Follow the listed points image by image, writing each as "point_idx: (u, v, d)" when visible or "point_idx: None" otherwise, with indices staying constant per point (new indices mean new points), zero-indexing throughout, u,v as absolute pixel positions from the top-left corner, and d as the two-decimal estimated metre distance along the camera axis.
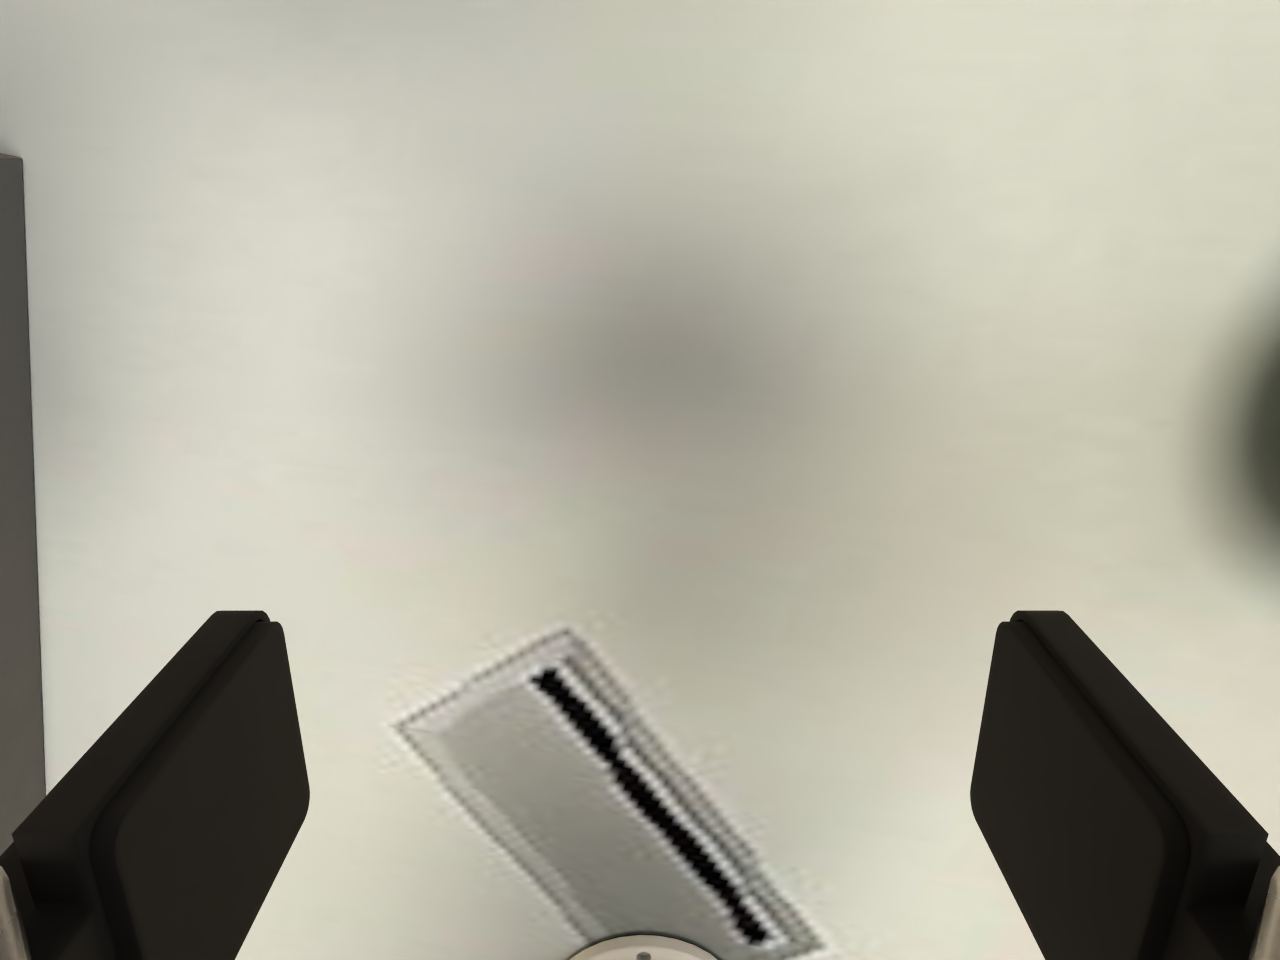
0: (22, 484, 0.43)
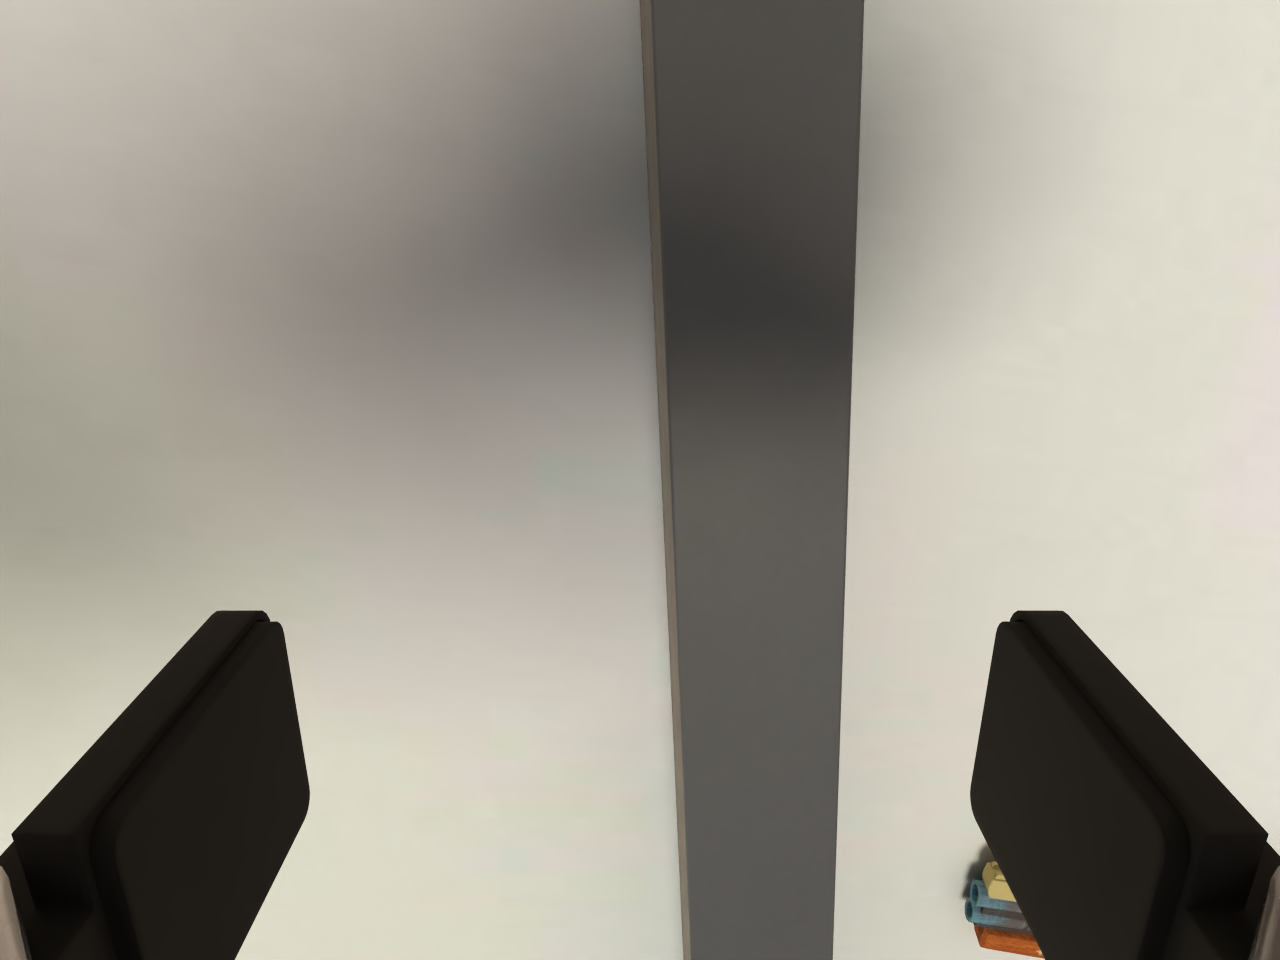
0: None
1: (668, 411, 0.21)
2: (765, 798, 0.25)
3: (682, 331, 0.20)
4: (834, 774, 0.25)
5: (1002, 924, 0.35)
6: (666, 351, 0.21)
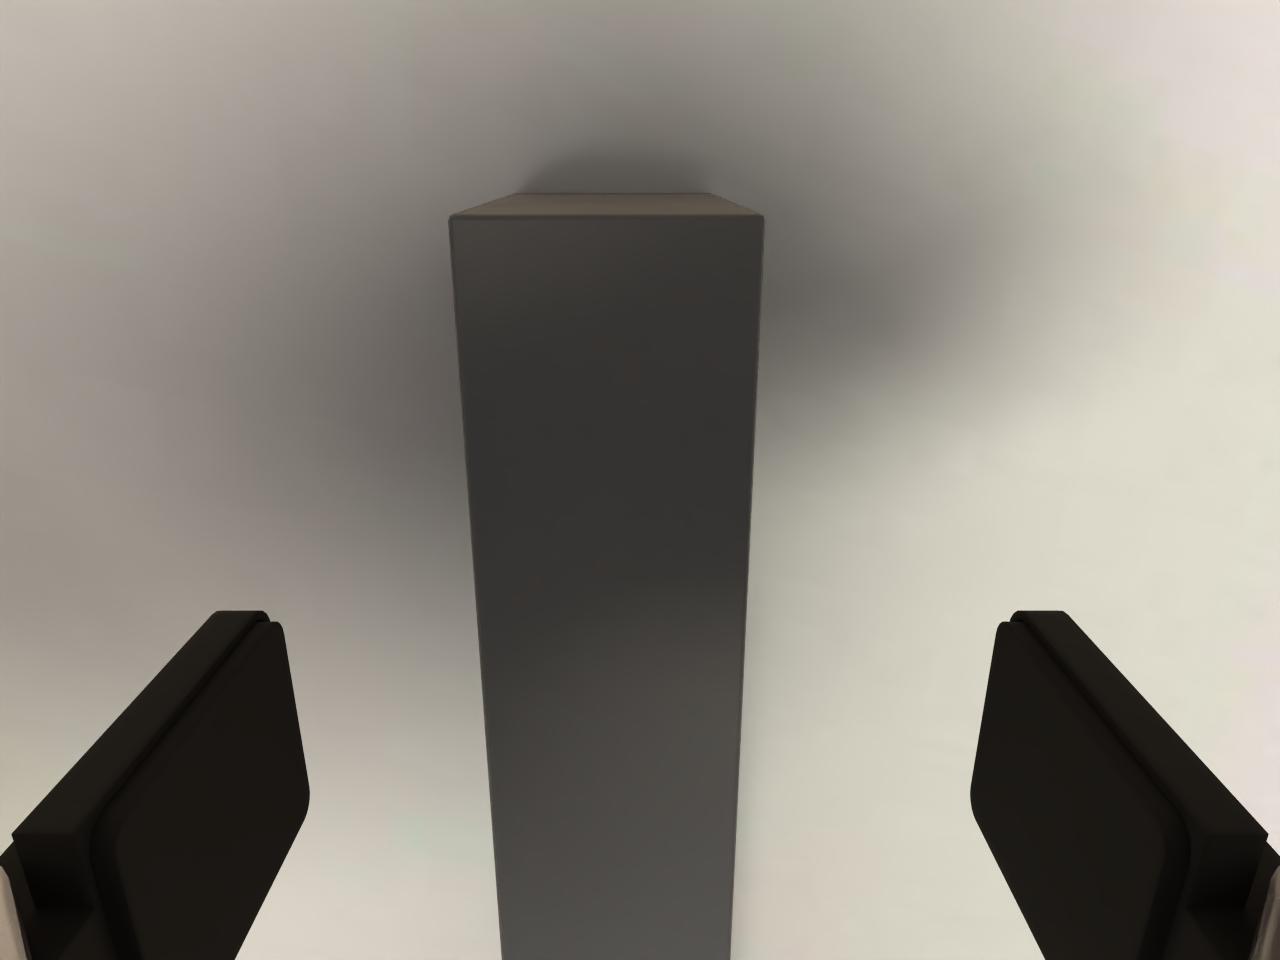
0: None
1: (501, 946, 0.17)
2: None
3: (517, 869, 0.16)
4: None
5: None
6: (497, 887, 0.16)
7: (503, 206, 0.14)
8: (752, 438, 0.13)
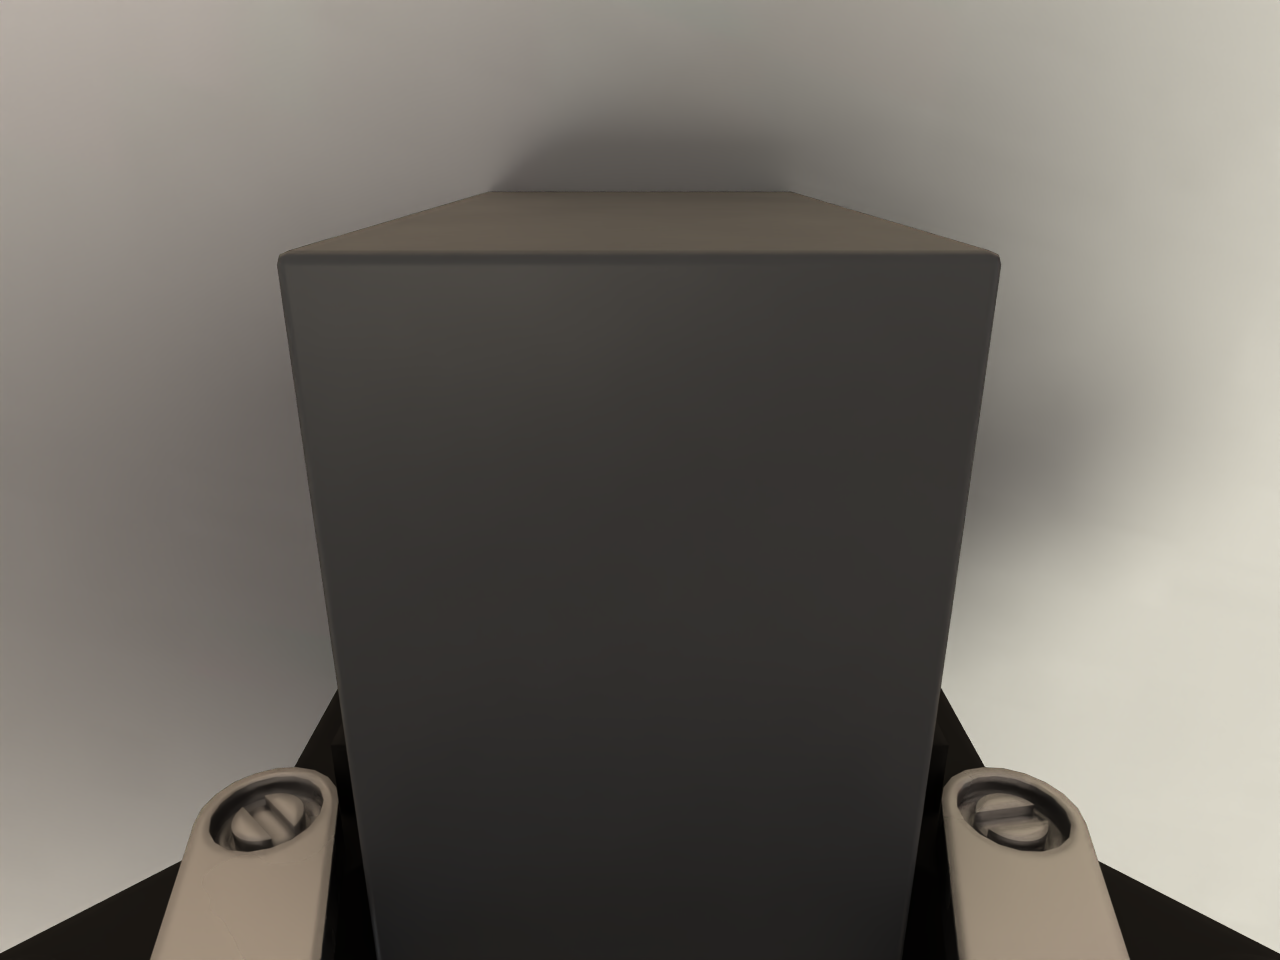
0: None
1: None
2: None
3: None
4: None
5: None
6: None
7: (433, 223, 0.07)
8: (935, 708, 0.06)
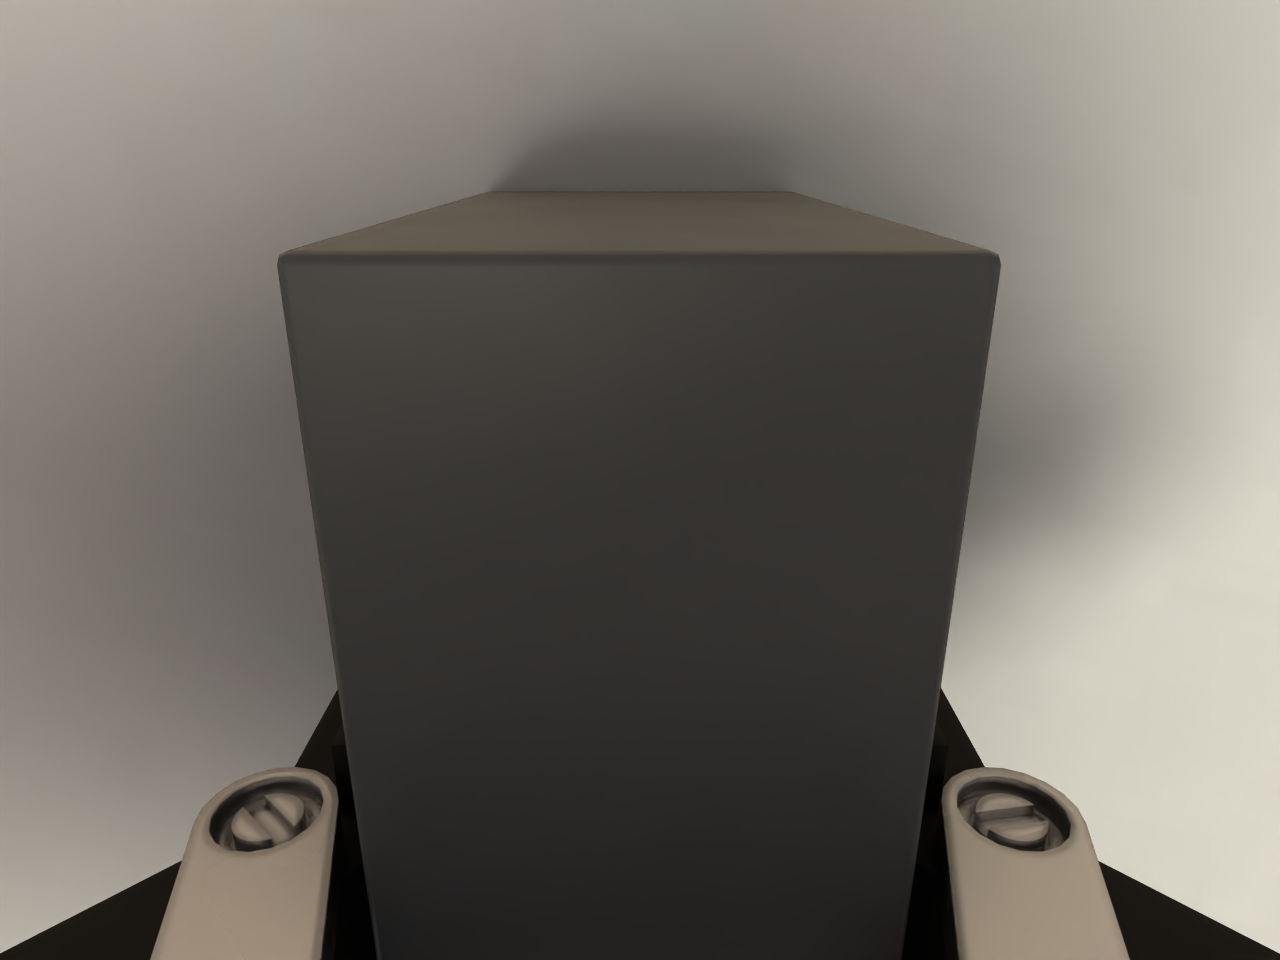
0: None
1: None
2: None
3: None
4: None
5: None
6: None
7: (434, 223, 0.07)
8: (936, 709, 0.06)
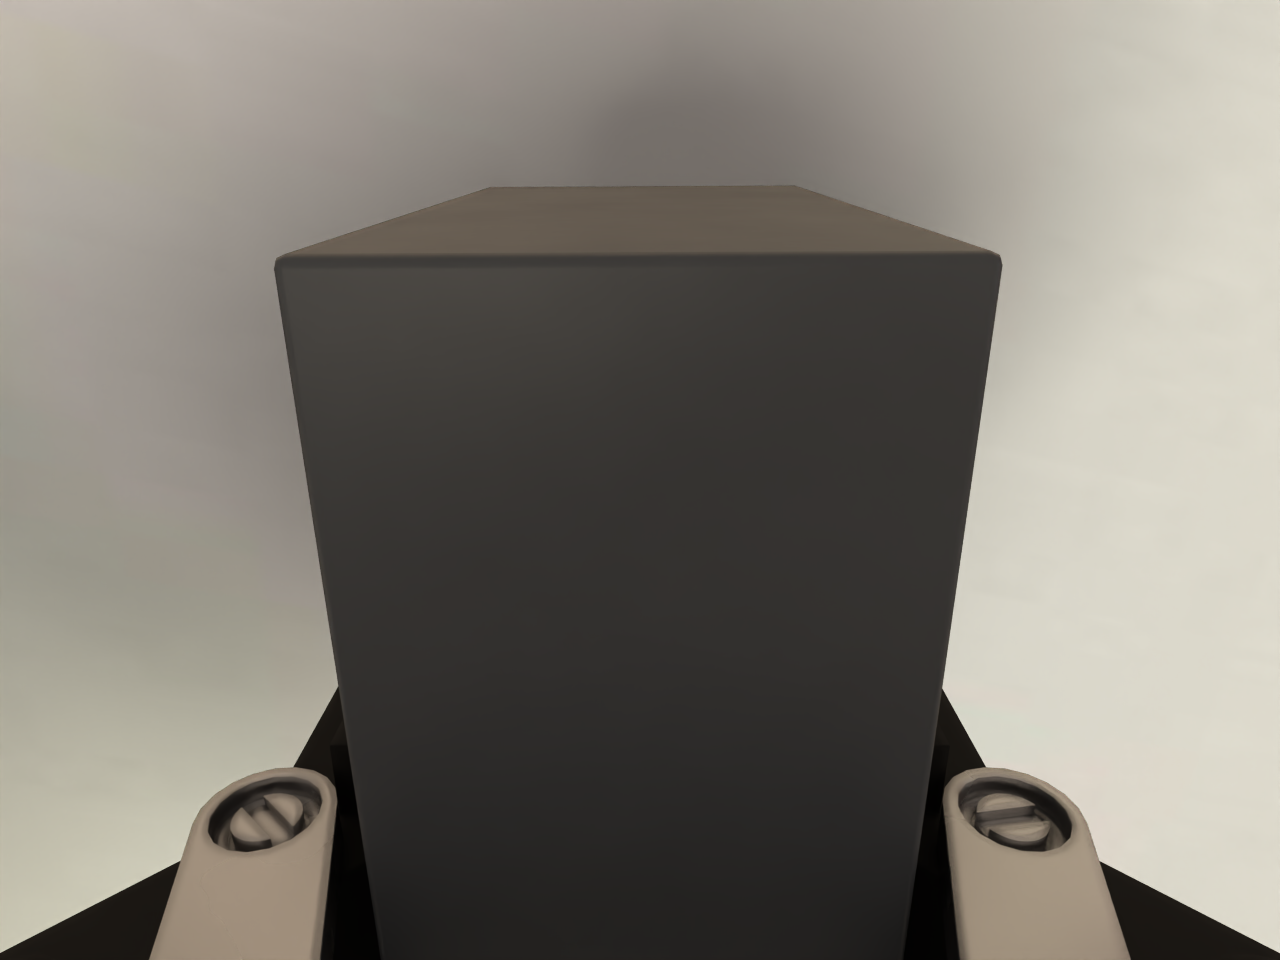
0: None
1: None
2: None
3: None
4: None
5: None
6: None
7: (433, 222, 0.07)
8: (936, 710, 0.06)
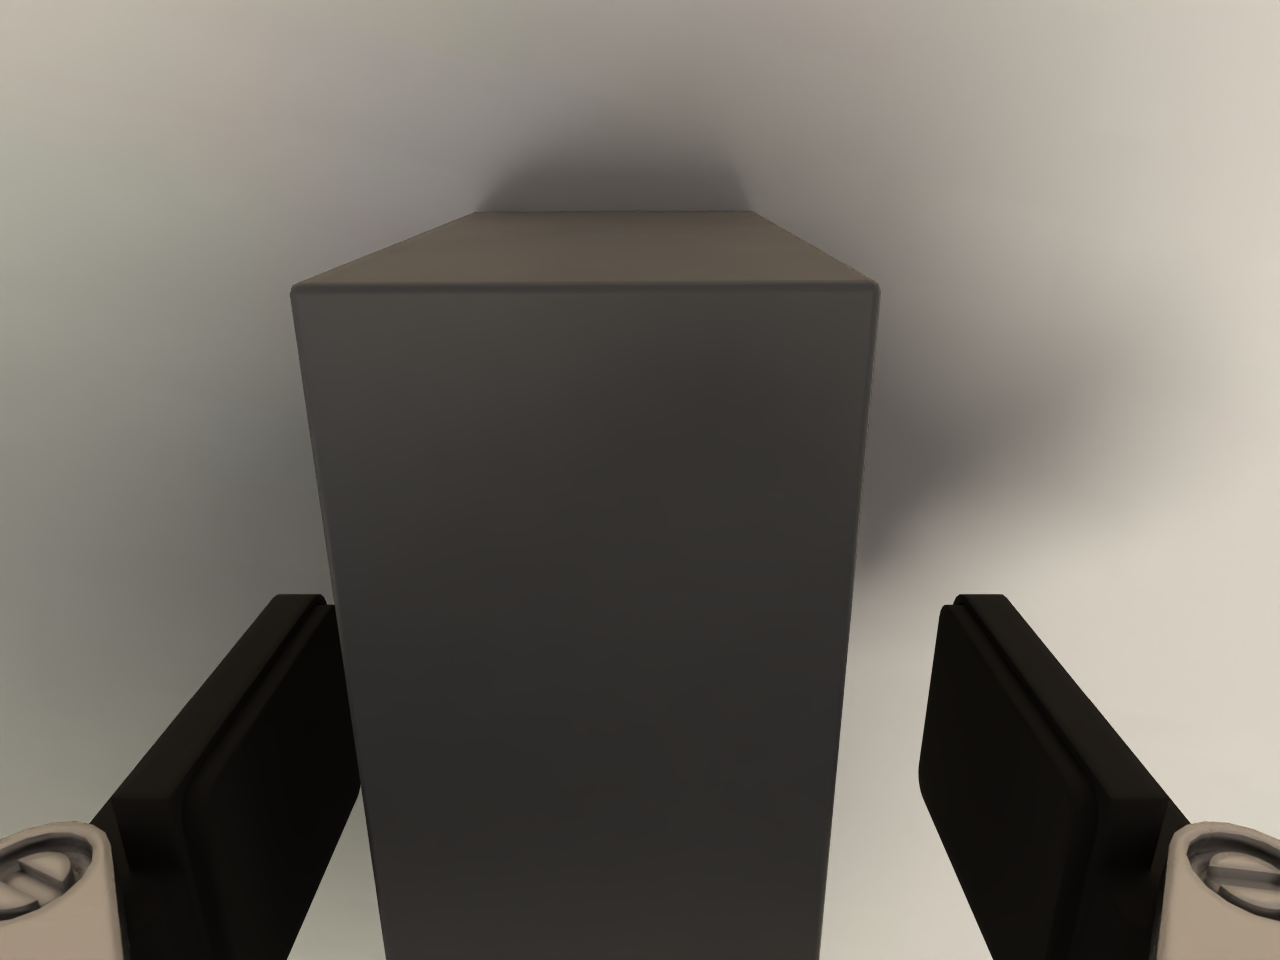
0: None
1: None
2: None
3: None
4: None
5: None
6: None
7: (421, 251, 0.09)
8: (843, 662, 0.08)
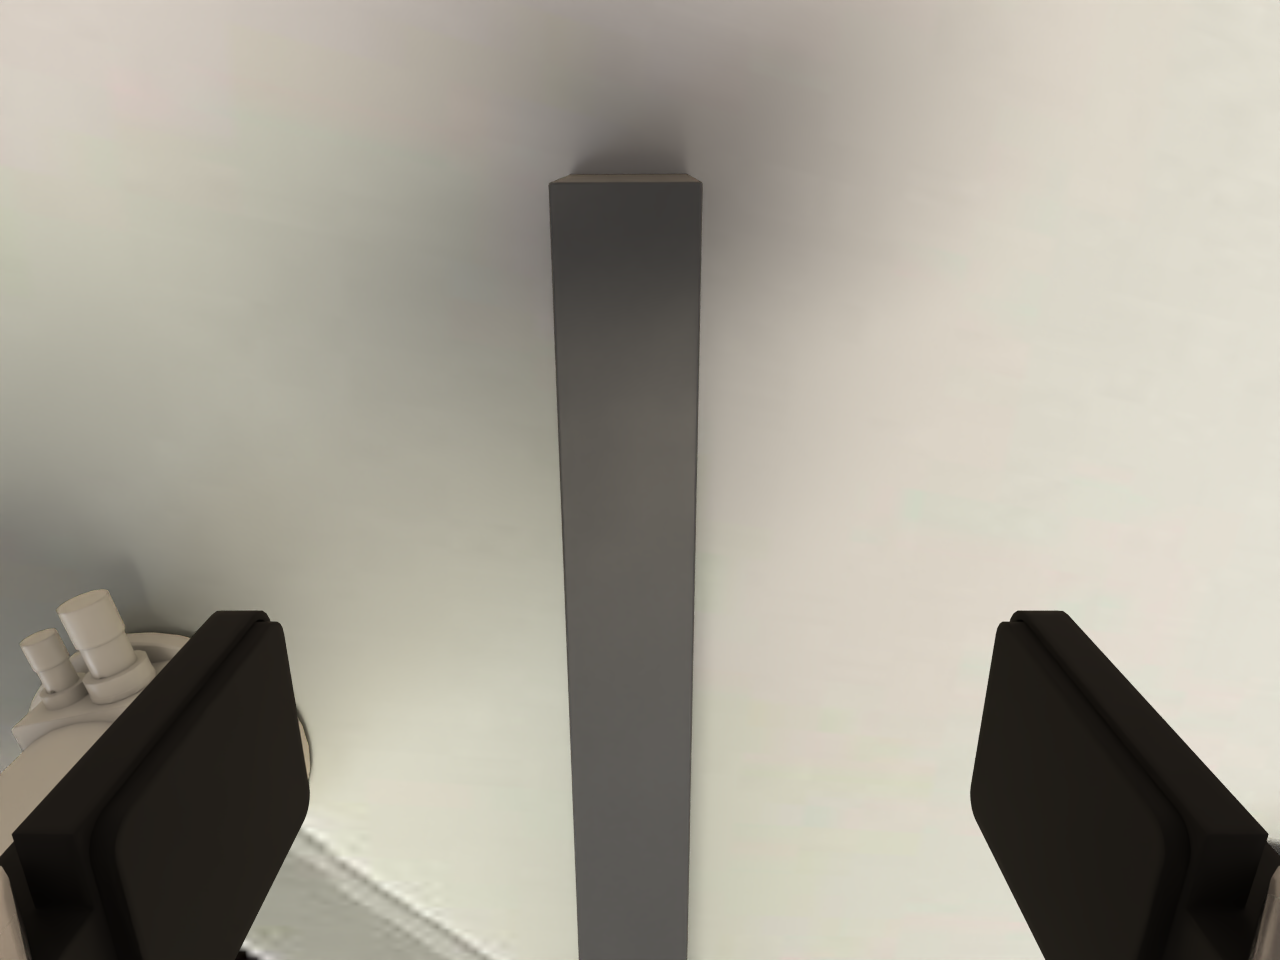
0: None
1: (565, 598, 0.30)
2: (635, 864, 0.34)
3: (575, 547, 0.29)
4: (685, 849, 0.34)
5: None
6: (564, 559, 0.29)
7: (571, 179, 0.27)
8: (698, 296, 0.26)
